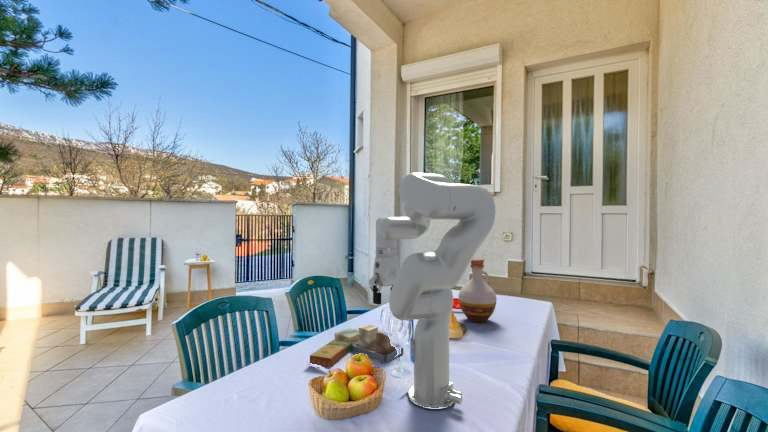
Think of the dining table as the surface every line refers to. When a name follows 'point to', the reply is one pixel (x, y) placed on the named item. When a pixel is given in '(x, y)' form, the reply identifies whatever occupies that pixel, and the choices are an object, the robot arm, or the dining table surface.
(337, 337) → the stand
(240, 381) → the dining table surface
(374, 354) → the tray
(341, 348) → the reddish brown flat block
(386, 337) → the walnut block
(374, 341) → the beech block
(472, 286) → the jug
